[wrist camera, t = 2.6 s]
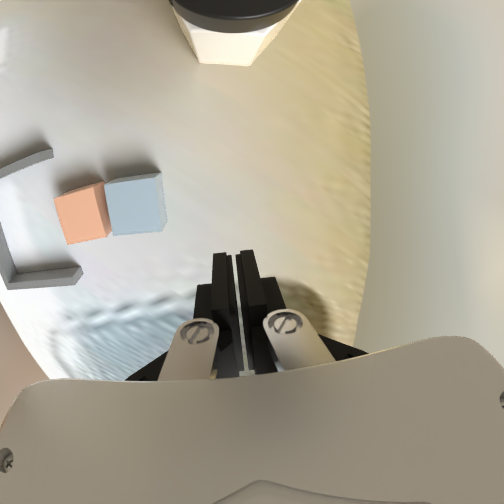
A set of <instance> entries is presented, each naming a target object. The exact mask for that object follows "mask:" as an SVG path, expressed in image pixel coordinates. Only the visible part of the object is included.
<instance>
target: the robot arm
mask: <svg viewBox="0 0 504 504" xmlns="http://www.w3.org/2000/svg"><path fill="white" fill-rule="evenodd" d="M236 265H237V274H238V284H239V293H240V302H241V311H242V319H243V327H244V335H245V343H246V351H247V359H248V367H249V370H255V375H250V376H241V377H239V371H244V363H243V354H242V345H241V336H240V327H239V317H238V308H237V300H236V291H235V283H234V274H233V265H232V256H231V255H228V256H227V255H226V252H224V253H215V254H213V269H212V284H202V285H197V292H196V300H195V308H194V317H193V319H192V320H188V321H187V322H185V323H183V324H182V325H180V326H179V327H178V329H177V331H176V333H175V335H174V338H173V340H172V343H171V346H170V348H169V350H168V351H167V352H165V353H164V354H162V355H161V356H159V357H158V358H156V359H155V360H153V361H152V362H150V363H149V364H147V365H146V366H144V367H143V368H141V369H140V370H138V371H137V372H135V373H134V374H132V375H131V376H129V377H128V378H127V379H126V380H125V381H117V380H96V379H77V378H60V379H51V380H45V381H41V382H37V383H34V384H31V385H29V386H27V387H25V388H24V389H23V390H21V392H20V393H19V394H18V395H17V397H16V398H15V400H14V401H13V403H12V405H11V406H10V408H9V410H8V412H7V414H6V416H5V418H4V420H3V422H2V425H1V427H0V504H504V369H503V367H502V366H501V365H500V364H499V363H498V362H497V360H496V359H495V358H494V357H493V356H492V355H491V354H490V353H489V352H488V351H487V350H486V349H485V348H484V347H482V346H481V345H480V344H479V343H477V342H476V341H474V340H472V339H469V338H466V337H458V336H441V337H433V338H428V339H423V340H418V341H414V342H411V343H408V344H404V345H400V346H396V347H392V348H388V349H385V350H382V351H378V352H374V353H370V354H368V353H366V352H364V351H362V350H359V349H357V348H354V347H351V346H348V345H346V344H343V343H340V342H338V341H335V340H332V339H330V338H327V337H324V336H322V335H319V334H317V333H316V331H315V330H314V328H313V327H312V325H311V324H310V322H309V321H308V320H307V318H306V317H305V316H304V315H303V314H302V313H300V312H298V311H295V310H291V309H286V306H285V303H284V301H283V298H282V295H281V292H280V289H279V286H278V283H277V281H276V278H275V277H268V278H260V275H259V271H258V267H257V264H256V260H255V256H254V252H253V250H243V251H240V254H237V255H236Z"/></svg>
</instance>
